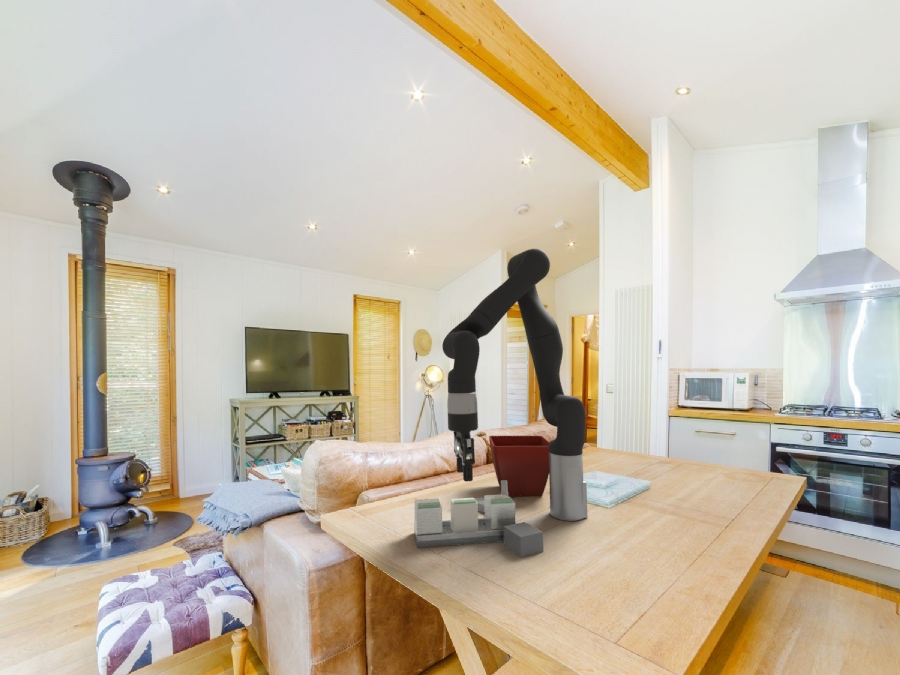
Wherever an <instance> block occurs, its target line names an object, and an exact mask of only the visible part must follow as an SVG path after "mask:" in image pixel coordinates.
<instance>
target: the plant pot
mask: <svg viewBox="0 0 900 675" xmlns="http://www.w3.org/2000/svg"><path fill="white" fill-rule="evenodd" d="M488 440H489V448H490V453H491V461H492V465H493V467H494V472H495V476H496V479H497V483H498V486H499V489H500V490H501V481H502V480H506V481H507V488H508V496H509V497H510V498H512V497H520V498H521V497H533V498H534V497H542V496H543V495H544V492H545V489H546V486H547V482H548V479H549V442H550V441H549V440H548V439H547V438H546V437H544V436H543V435H489V436H488Z"/></svg>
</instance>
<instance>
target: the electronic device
mask: <svg viewBox="0 0 900 675" xmlns="http://www.w3.org/2000/svg"><path fill="white" fill-rule="evenodd" d="M501 494H507V495H508V488H507V481H506V480H502V481H501V489H500V495H501ZM474 499H475V500H476V501H477V503H478V510H479V511H478V512H481V511H482V512H481V513H484V512H485V511H484V497H476V498H475V497H474Z"/></svg>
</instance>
